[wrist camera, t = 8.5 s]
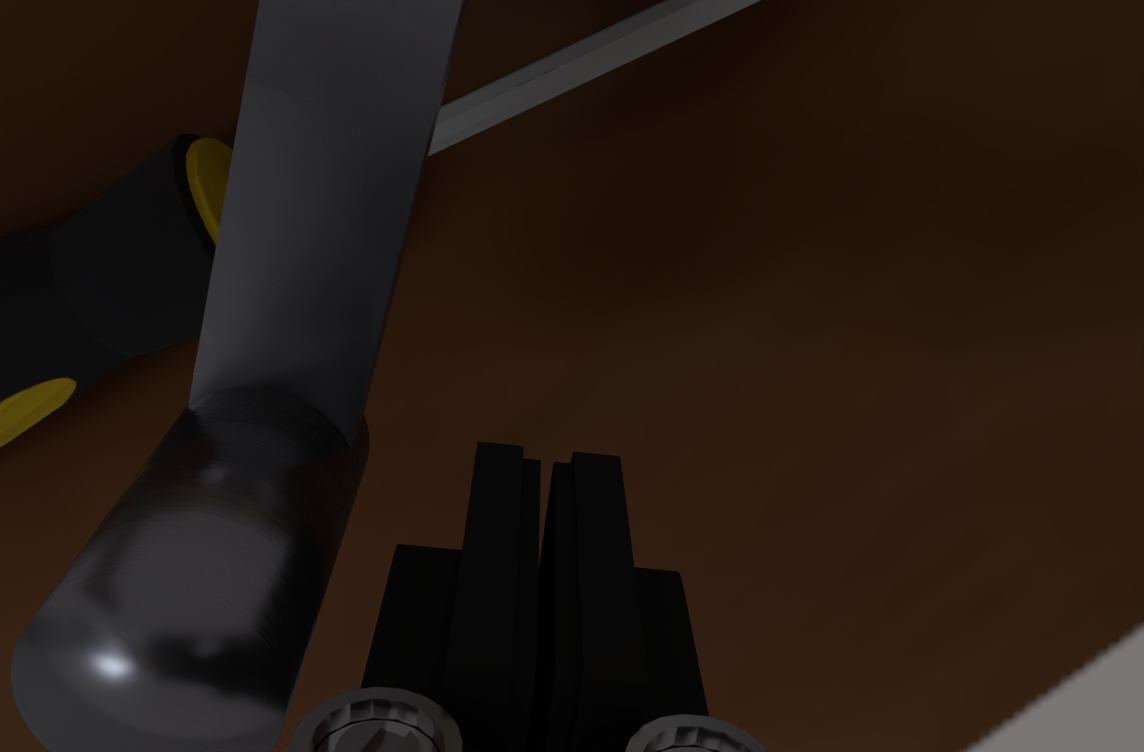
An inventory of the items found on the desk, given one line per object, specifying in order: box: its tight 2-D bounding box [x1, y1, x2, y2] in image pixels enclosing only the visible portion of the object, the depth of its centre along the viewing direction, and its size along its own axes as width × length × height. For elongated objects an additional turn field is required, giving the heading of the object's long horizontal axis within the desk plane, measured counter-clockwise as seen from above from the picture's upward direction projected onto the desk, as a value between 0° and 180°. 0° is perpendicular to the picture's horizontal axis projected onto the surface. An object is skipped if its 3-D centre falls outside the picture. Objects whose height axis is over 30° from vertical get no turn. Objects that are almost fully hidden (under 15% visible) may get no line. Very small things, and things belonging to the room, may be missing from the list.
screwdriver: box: [0, 0, 760, 447], centre depth 16 cm, size 3×3×30 cm
